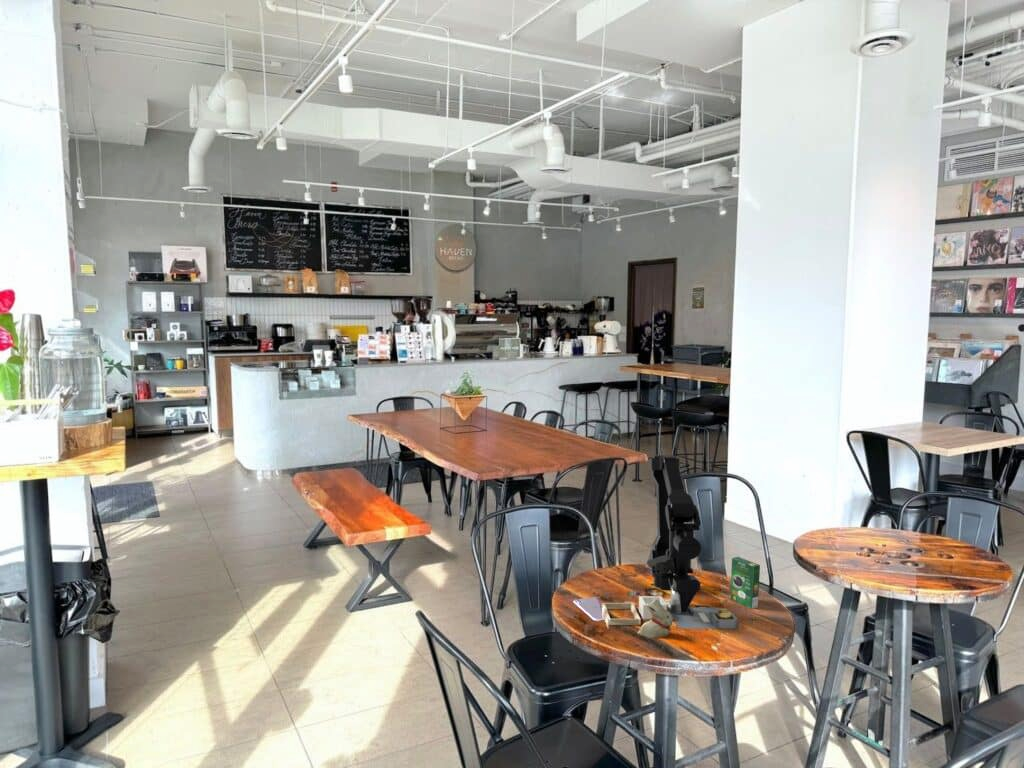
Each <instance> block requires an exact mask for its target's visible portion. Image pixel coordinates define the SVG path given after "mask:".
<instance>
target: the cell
mask: <svg viewBox="0 0 1024 768" xmlns="http://www.w3.org/2000/svg"><path fill="white" fill-rule="evenodd" d="M673 587H674V585H673V584H672V586H671V590H670V607H671V612H672V613H673V614H676V615H685V614H687V612H688V609H687V611H686V612H681V607H680V600H679V593H678V592H676V591H675V589H674V588H673Z"/></svg>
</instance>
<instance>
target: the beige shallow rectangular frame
mask: <svg viewBox="0 0 1024 768" xmlns="http://www.w3.org/2000/svg"><path fill="white" fill-rule="evenodd" d="M601 606H602V612H603V615H604V618H605V620H604V622H605V624H606V627H607V630H609V631H610V630H611V627H610V626H642V625H641V623H642V622H641V621H642V620H641V619H642V618H641V617H640V615H639V613H638V611H637V609H636V607H635V605H634V603H633V602H602V603H601ZM608 610H630V611H631V613H632V615H633V618H611V617H610V614H609V611H608Z"/></svg>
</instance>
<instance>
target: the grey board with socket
mask: <svg viewBox="0 0 1024 768" xmlns="http://www.w3.org/2000/svg"><path fill="white" fill-rule="evenodd" d="M666 605H667V611H668V612H669V613H671V615H672V617H673V621H675V624H676V625H677V626H678V628H679V629H680V630H706V629H707V630H715V629H717V630H732V629H733V630H736V629H739V622H740V621H739V619H738V618H737V617H736V616H735V614H734V613H733V612H732V611H731V619H718V609H721V608H720V607H715V606H713V607H709V606H708V607H704V606H703V607H701V606H700V607H699V606H698V607H697V606H695V607H691V606H690V605H689V607H688V612H687V614H685V615H676V614H673V613H672V612H671V606H670V607H669V606H668V604H667V603H666Z"/></svg>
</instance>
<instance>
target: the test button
mask: <svg viewBox="0 0 1024 768" xmlns="http://www.w3.org/2000/svg"><path fill="white" fill-rule="evenodd" d="M731 612H732V610H730V609H728V608H720V609H718V619H731Z"/></svg>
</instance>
